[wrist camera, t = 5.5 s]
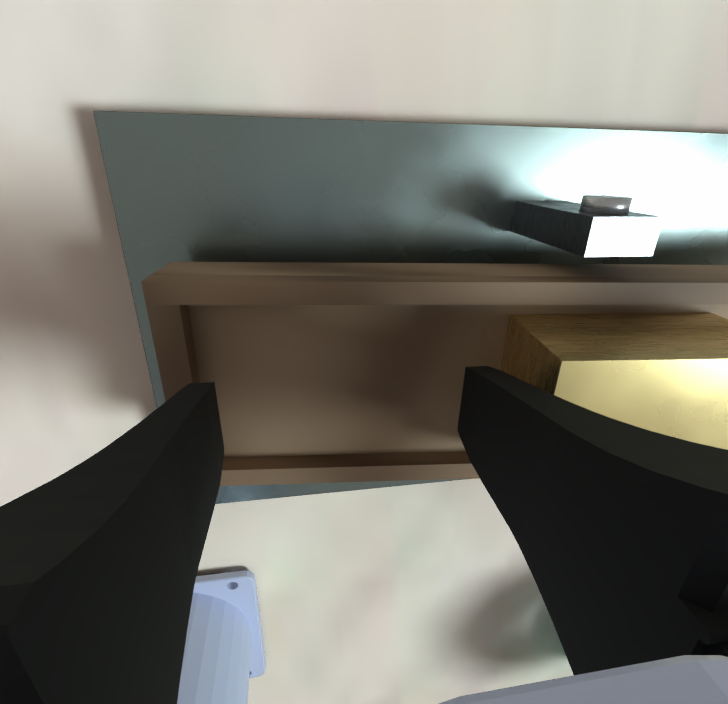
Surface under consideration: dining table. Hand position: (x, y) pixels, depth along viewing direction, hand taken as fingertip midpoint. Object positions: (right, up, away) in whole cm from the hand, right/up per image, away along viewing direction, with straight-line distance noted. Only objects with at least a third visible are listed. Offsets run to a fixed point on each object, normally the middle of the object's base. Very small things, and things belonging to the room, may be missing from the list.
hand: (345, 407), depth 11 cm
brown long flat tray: (+7, +1, +2) cm, 7 cm away
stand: (+6, +3, +6) cm, 9 cm away
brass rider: (+8, +1, +2) cm, 8 cm away
